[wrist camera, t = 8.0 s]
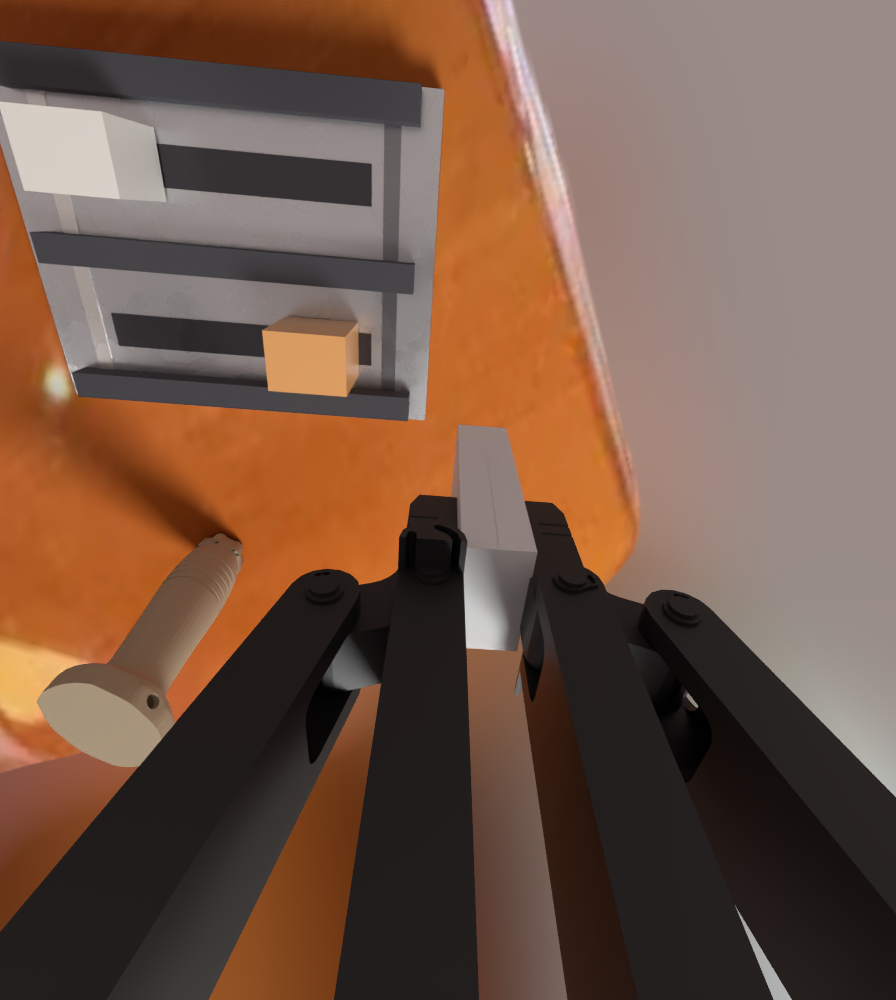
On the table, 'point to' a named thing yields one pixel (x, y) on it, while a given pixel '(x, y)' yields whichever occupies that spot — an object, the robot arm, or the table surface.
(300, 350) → the toggle
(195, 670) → the table surface
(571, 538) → the robot arm
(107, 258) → the slotted rail tray
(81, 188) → the toggle
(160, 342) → the panel
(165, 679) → the handle
